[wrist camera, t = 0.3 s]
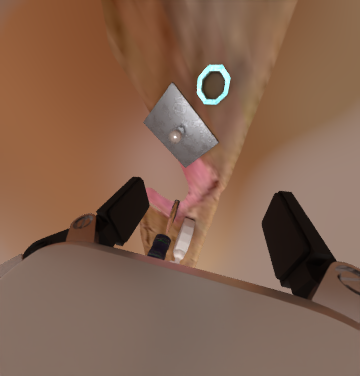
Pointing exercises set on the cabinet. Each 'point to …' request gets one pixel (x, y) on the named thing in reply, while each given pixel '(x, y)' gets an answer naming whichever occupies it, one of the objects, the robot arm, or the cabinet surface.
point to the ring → (204, 75)
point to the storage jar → (159, 247)
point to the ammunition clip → (172, 215)
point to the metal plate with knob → (180, 127)
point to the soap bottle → (183, 239)
